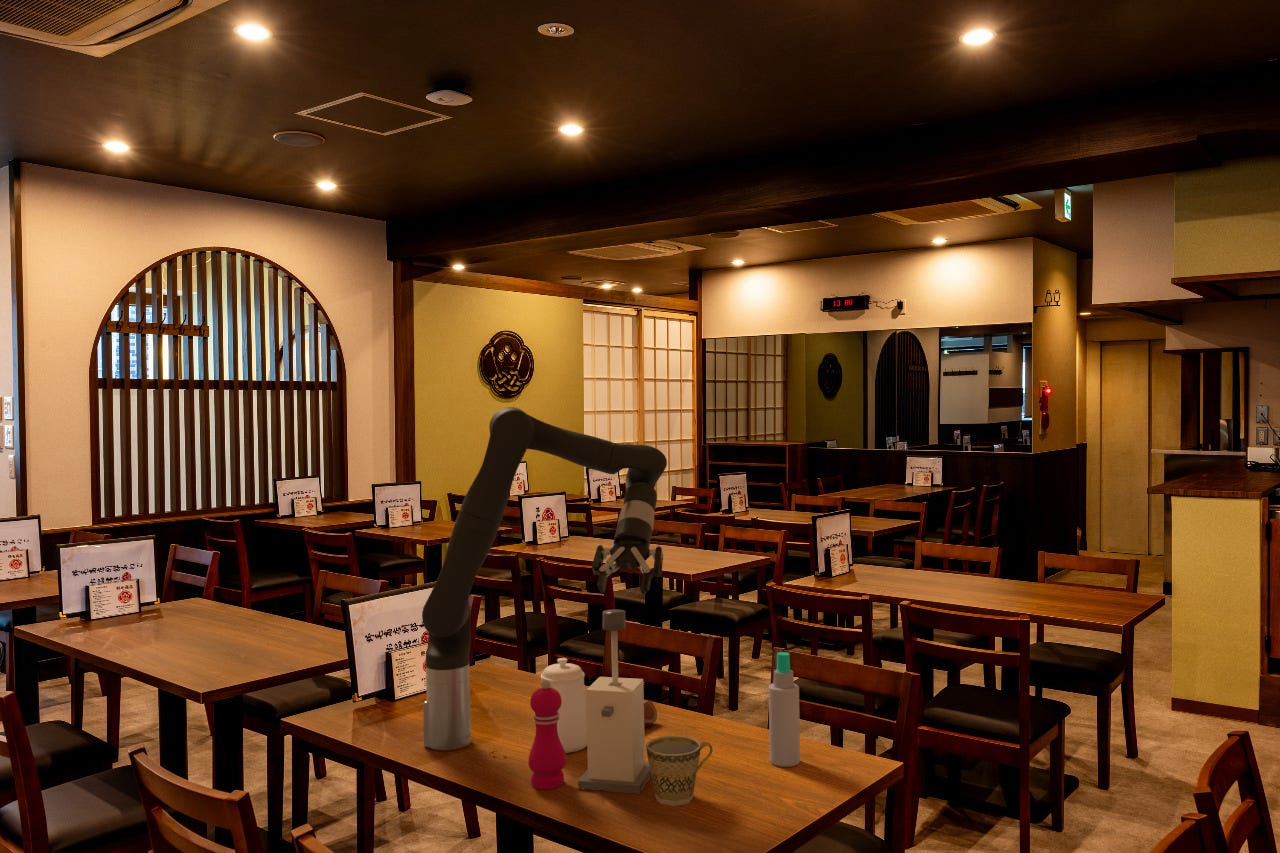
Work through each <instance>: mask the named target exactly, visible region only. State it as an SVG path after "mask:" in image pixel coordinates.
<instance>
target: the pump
mask: <svg viewBox="0 0 1280 853" xmlns="http://www.w3.org/2000/svg"><path fill="white" fill-rule="evenodd" d="M602 629H603V630H604V631H606V632H607V631H609V632H610V634H611V636H610V638H611V639H610V640H611V677H612V686H618V678H619V647H618V640H619V639H618V638H619V636H618V631H624V630H626V610H624V609H615V608H614V609H613V608H612V609H606V610H603V611H602Z"/></svg>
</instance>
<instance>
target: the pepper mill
mask: <svg viewBox="0 0 1280 853" xmlns="http://www.w3.org/2000/svg"><path fill="white" fill-rule="evenodd" d="M540 686H541V687H542V688H541V687H540V688H538V689H536V690H535V691H533V692H532V694H531V696H530V700H529V701H530V702H529V705H530V707H531V710H532V711H533V712H534V713H533V715H532V717H533V719H532V720H533V723H535V736H534V740H533V742H532V746H531V748H530V751H529V754H528V767H529V769H530V770H531V771H532V773H531V775H530V777H531V778H530V779H531V780H530V782H531V783H530V784H531V786H532V787H533V788H535V789H539V790H554V789H557V788H559V787H561V786H563V785H564V783H565V774H564V772H563V771H562V770H563V769H564V768H565V766H566V763H567V758H566V757H567V756H566V753H565V752H564V749H563V746H562V744H561V742H560V739H559V736H558V731H557V722H558V721H559V712H557V711H558V710H559V709H560V707H561V704H562V700H561V696H560V693H559V692H558V691H557V690H556V689H554V688H550V682H549V681H548V680H544V681H542V680H541V682H540Z"/></svg>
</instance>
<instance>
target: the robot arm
mask: <svg viewBox="0 0 1280 853" xmlns="http://www.w3.org/2000/svg"><path fill="white" fill-rule="evenodd" d="M488 430H489V439H488V442H487V447H486V450H485V453H484V458H483V460H482V464H481V466H480V469H479V471H478V472H477V474H476V476H475V478H474V480H473V482H472V483H471V485H470V486H469V488H468V490H467V493H466V494H465V497H464V499H463V501H462V502H461V504H460V509H459V511H458V513H457V516H456V519H455V522H454V526H453V528H452V532H451V535H450V538H449V541H448V544H447V545H448V546H447V548H446V552H445V557H444V559H443V560H444V561H443V563H442V566H441V568H440V572H439V575H438V577H437V578H436V582H435V584H434V586H433V588H432V590H431V592H430V594H429V595H428V598H427V600H426V602H425V604H424V606H423V607H422V612H421V621H422V624H423V627H424V628H425V630H426V631H427V632H428V634H427V635H428V640H427V648H426V652H425V680H426V684H425V685H426V686H425V687H426V700H424V701H423V702H422V715H423V716H422V720H423V721H422V723H423V726H422V727H423V746H424V747H427V748H430V749H432V750H435V751H452V750H454V751H455V750H459V749H463V748H465V747H467V746H469V745H470V744H471V742H472V734H471V733H472V730H471V729H472V727H471V722H472V721H471V690H470V688H471V684H470V682H471V681H470V651H471V644H472V643H471V639H472V638H471V630H472V628H471V626H472V625H471V605H470V602H469V597H470V594H471V591H472V587H473V585H474V581H475V579H476V577H477V575H478V573H479V571H480V569H481V568H482V565H483V564H484V562H485V561H486V559H487V557H488V554H489V553H490V550H491V549H492V547H493V544H494V543H495V542H494V541H495V540H496V537H497V534H498V531H499V529H500V527H501V523H502V520H503V518H504V515H505V514H504V513H505V510H506V509H507V508H506V507H507V505H508V501H509V497H510V493H511V489H512V486H513V482H514V479H515V476H516V473H517V471H518V469H519V466H520V464H521V462H522V460H523V458H524V456H525V453H526V452H527V450H533V451H539V452H542V453H545V454H549V455H552V456H554V457H557V458H561V459H563V460H566V461H568V462H571V463H573V464H576V465H577V466H582V467H585V468H587V469H590V470H594V471H597V472H600V473H604V474H608V475H616V474H618V473H620V471H622V470H624V469H628V470H627V471H626V476H625V494H624V497H623V498H624V499H623V502H622V503H623V504H622V508H621V510H620V513H619V515H618V521H617V525H616V530H615V533H614V537H613V538H614V540H613V544H612V546H611V547H607V548H606V547H604V546H603V545H601V544H600V545H598V546H597V547H596V551H595V554H594V557H593V560H592V563H591V570H592V573H593V575H594V576H598V578H597V582H596V585H597V588H598V591H600V593H603V594H604V593H605V592H606V588H607V583H608V577H609V576H610V575H611V574H612V573H615V572H617V571H618V570H619V569H621V570H625V569H627V570H628V569H630V570H636V569H637V568H639V570H640V572H641V573H642V576H641V583H640V592H641V595H646V594H647V592H649V591H650V588H651V582H652V579H653V578H656V577H657V578H660V577H662V574H663V564H664V563H663V561H664V552H663V548H662V547H661V546H656V548H650V545H651V541H652V534H653V530H654V523H655V511H656V507H657V502H658V493H657V491H656V489H655V487H656V485H657V482H658V481H659V479H660V478H661V477H662V475H663V473H664V472H665V471H666V468H667V465H668V461H667V458H666V455H665V454H664V453H663V452H662V451H661V450H660V449H657V448H656V447H654V446H651V445H648V444H647V445H645V444H631V443H616V442H613V441H610V440H607V439H603V438H600V437H596V436H593V435H588V434H586V433H581V432H578V431H577V432H576V431H573V430H569V429H565V428H561V427H559V426H555V425H553V424H549V423H547V422H545V421H542V420H540V419H538V418H536V417H534V416H532V415H529V414H527V412H525V411H524V410H522V409H520V408H518V407H515V406H514V407H511V406H508V407H507V406H506V407H504V408H500V409H499V410H497V411H496V412H495V413H494V414H493V415H492V417H491V418H490V421H489V428H488ZM608 556H610V557H608ZM650 556H651V557H652V559H653V561H654V563H653V567H650V566H649V565H648V564H647V560H648V559H649V558H650ZM607 557H608V558H607ZM605 560H606V562H605V563H604V561H605ZM603 563H604V564H603Z"/></svg>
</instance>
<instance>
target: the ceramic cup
mask: <svg viewBox="0 0 1280 853" xmlns="http://www.w3.org/2000/svg"><path fill="white" fill-rule="evenodd" d="M645 745H646V746H645V747H646V753H647V754H646V755H647V762H649V766H650V770H651V776H650V777H651V781H652V784H653V785H652V786H653V790H654V796H655V799H656V801H657V802H658V803H659V804H661V805H662V806H663V805H665V806H671V807H678V806H683V805H688V804H690V802H691V801H692V800H693V798H694V793H695V786H696V784H695V783H696V778H697V773H698V771H699V770H700V769H701V768H702V766H703V765H704V764H705V763H706V761H707V760H708V759H710V757H711V756H712V755H713V754H712V753H713V746H712V744H710V742H706V741H705V742H704V741H703V742H700V741H698V740H697V739H695V738H692V737H689V736H684V735H664V736H659V737H656V738H653V739H651V740H649V741H648V742H647V743H646V744H645ZM707 746H708V748H709V753H707V755H706V756H705V757H704V758H703V759H702V761H700V756H701V751H702V749H704V748H705V747H707ZM699 762H700V763H699Z"/></svg>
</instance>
